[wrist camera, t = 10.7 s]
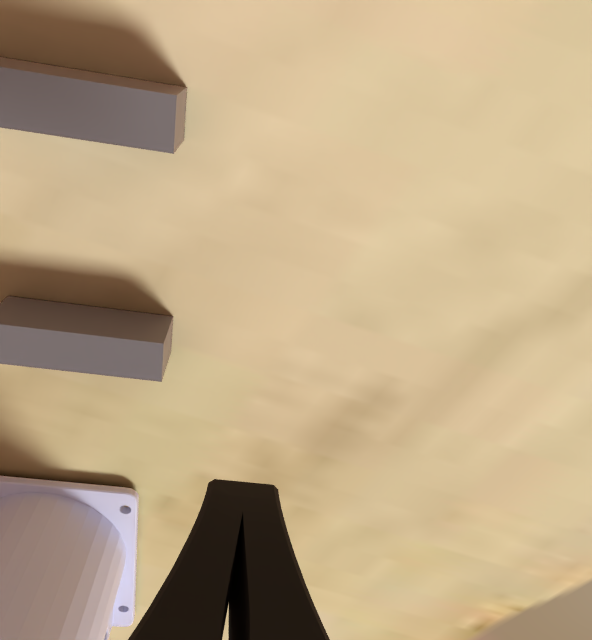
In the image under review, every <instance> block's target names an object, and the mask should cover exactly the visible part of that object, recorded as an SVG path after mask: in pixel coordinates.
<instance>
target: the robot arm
mask: <svg viewBox="0 0 592 640" xmlns="http://www.w3.org/2000/svg"><path fill="white" fill-rule="evenodd" d="M138 502H139V496H138V493H137V492H136V491H135V490H133V489H132V488H127V487H116V486H105V485H95V484H84V483H73V482H63V481H52V480H41V479H30V478H20V477H9V476H0V640H108V639H109V635H110V631H111V628H112V626H120V627H127V626H130V625H131V624H132V623H133V620H134V616H135V591H136V561H137V532H138ZM125 506H129V507H125ZM228 603H229V640H330V639H329V637H328V635H327V633H326V631H325V629H324V626H323V624H322V622H321V620H320V617H319V615H318V613H317V610H316V608H315V606H314V604H313V601H312V599H311V596H310V594H309V591H308V589H307V587H306V584H305V581H304V579H303V576H302V573H301V570H300V568H299V565H298V562H297V560H296V557H295V554H294V551H293V548H292V545H291V542H290V538H289V535H288V532H287V528H286V525H285V521H284V517H283V513H282V509H281V504H280V500H279V494H278V489H277V488H276V487H275V486H274V485H269V484H259V483H248V482H238V481H228V480H217V479H214V480H213V481H211V482H209V483H208V487H207V492H206V495H205V498H204V501H203V504H202V507H201V509H200V512H199V514H198V517H197V519H196V521H195V524H194V526H193V528H192V530H191V533H190V535H189V537H188V539H187V541H186V543H185V545H184V547H183V549H182V550H181V552H180V554H179V556H178V558H177V560H176V562H175V564H174V566H173V568H172V570H171V571H170V573H169V575H168V577H167V578H166V580H165V582H164V583H163V585H162V587H161V588H160V590H159V592H158V594H157V595H156V597H155V599H154V600H153V602H152V604H151V605H150V607H149V609H148V610H147V612H146V613H145V615H144V616H143V618H142V619H141V621H140V623H139V624H138V626H137V627H136V629H135V630H134V632H133V633H132V635H131V636H130V638H129V639H128V640H222V636H223V630H224V625H225V619H226V614H227V608H228Z"/></svg>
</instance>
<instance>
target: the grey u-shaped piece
mask: <svg viewBox="0 0 592 640" xmlns="http://www.w3.org/2000/svg"><path fill="white" fill-rule="evenodd" d="M186 97H187V87H182V86H176V85H170V84H164V83H158V82H152V81H145V80H139V79H133V78H127V77H121V76H115V75H109V74H103V73H96V72H90V71H84V70H78V69H72V68H66V67H60V66H53V65H47V64H41V63H35V62H29V61H23V60H17V59H11V58H4V57H0V127H1V128H8V129H15V130H21V131H28V132H34V133H41V134H48V135H54V136H61V137H68V138H74V139H81V140H87V141H94V142H101V143H107V144H114V145H120V146H127V147H134V148H140V149H147V150H153V151H160V152H167V153H173V154H174V152H175V151H176V150H177V148H178V147H179V146H180V145H181V143H182V142H183V141H184V130H185V113H186ZM172 327H173V316H166V315H158V314H150V313H142V312H134V311H126V310H118V309H109V308H101V307H93V306H85V305H77V304H69V303H61V302H53V301H45V300H36V299H28V298H20V297H12V296H7V297H6V298H5V299H4V300H3V301H2V302H1V303H0V364H8V365H17V366H26V367H35V368H44V369H53V370H62V371H71V372H80V373H89V374H97V375H106V376H115V377H124V378H133V379H142V380H151V381H160V382H162V379H163V376H164V372H165V369H166V366H167V363H168V360H169V357H170V354H171V343H172Z"/></svg>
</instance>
